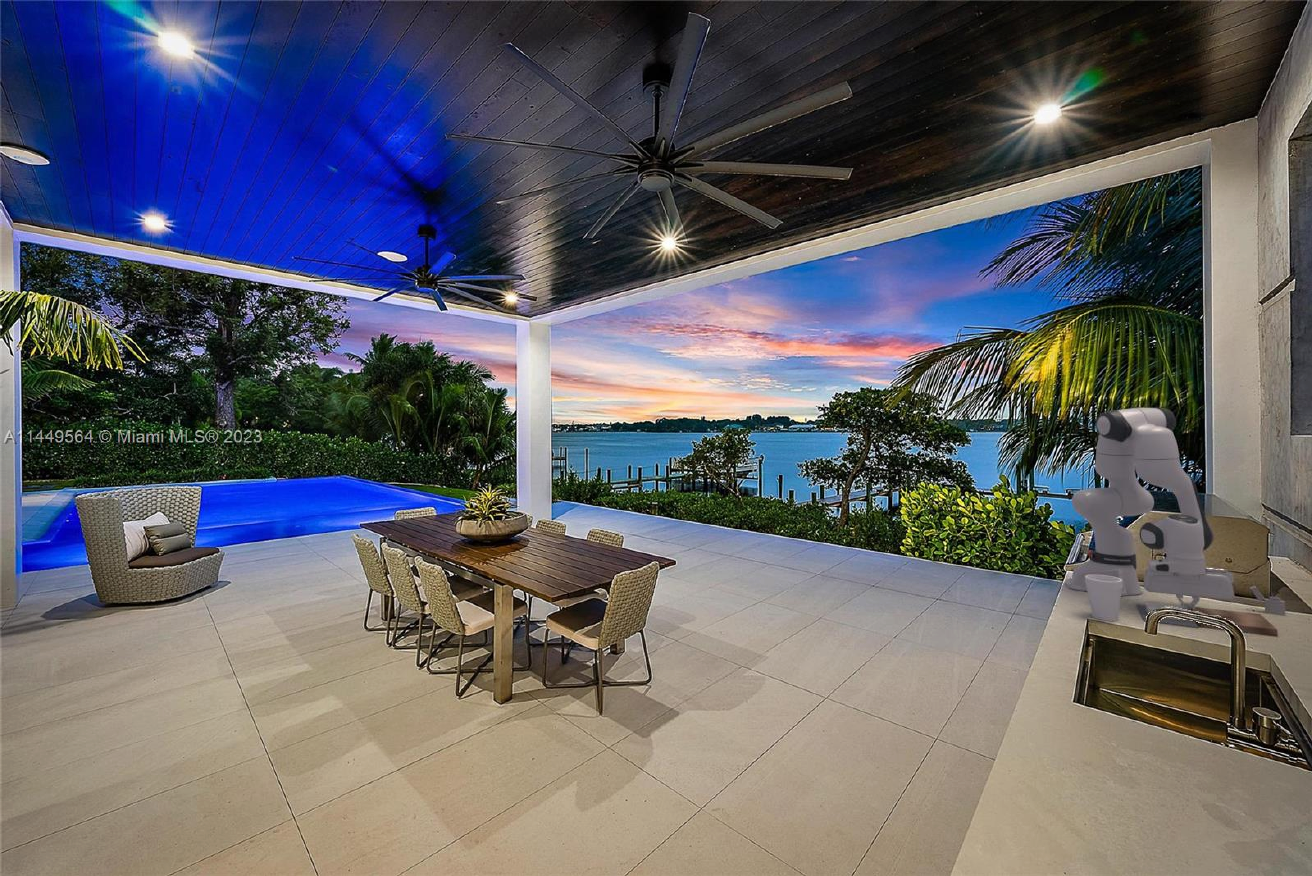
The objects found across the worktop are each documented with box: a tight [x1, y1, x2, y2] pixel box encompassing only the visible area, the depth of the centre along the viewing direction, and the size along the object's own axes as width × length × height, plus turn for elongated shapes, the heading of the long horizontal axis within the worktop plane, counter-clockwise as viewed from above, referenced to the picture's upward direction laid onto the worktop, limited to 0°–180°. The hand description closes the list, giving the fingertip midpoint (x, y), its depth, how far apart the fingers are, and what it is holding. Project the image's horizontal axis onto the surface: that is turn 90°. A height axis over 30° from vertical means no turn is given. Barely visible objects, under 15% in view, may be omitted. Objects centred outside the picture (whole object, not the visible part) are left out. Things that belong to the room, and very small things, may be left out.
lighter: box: [1249, 585, 1286, 617], centre depth 168 cm, size 7×2×8 cm, turn 38°
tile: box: [1144, 602, 1190, 621], centre depth 169 cm, size 10×7×2 cm
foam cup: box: [1085, 575, 1123, 622], centre depth 171 cm, size 10×9×13 cm
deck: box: [1191, 606, 1279, 637], centre depth 161 cm, size 16×15×2 cm
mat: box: [1135, 603, 1200, 629], centre depth 169 cm, size 12×18×1 cm
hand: (1188, 609), depth 166 cm, fingers closed
